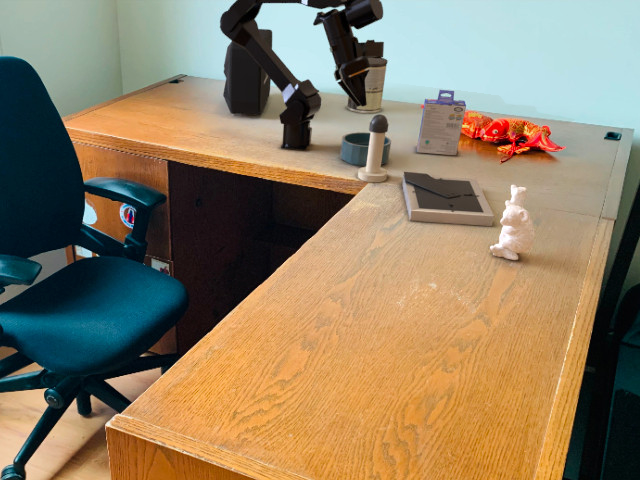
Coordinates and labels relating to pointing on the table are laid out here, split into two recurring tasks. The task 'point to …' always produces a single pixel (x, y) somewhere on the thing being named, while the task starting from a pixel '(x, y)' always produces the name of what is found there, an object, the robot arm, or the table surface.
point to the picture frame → (445, 200)
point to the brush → (375, 151)
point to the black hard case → (246, 79)
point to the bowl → (360, 148)
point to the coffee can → (372, 87)
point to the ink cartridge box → (441, 125)
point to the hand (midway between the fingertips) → (361, 106)
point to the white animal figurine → (515, 227)
